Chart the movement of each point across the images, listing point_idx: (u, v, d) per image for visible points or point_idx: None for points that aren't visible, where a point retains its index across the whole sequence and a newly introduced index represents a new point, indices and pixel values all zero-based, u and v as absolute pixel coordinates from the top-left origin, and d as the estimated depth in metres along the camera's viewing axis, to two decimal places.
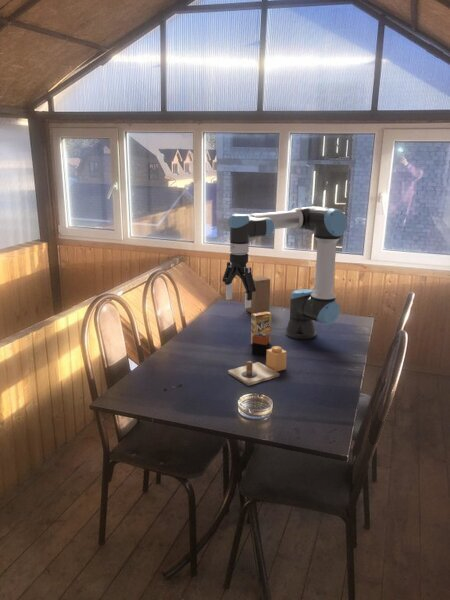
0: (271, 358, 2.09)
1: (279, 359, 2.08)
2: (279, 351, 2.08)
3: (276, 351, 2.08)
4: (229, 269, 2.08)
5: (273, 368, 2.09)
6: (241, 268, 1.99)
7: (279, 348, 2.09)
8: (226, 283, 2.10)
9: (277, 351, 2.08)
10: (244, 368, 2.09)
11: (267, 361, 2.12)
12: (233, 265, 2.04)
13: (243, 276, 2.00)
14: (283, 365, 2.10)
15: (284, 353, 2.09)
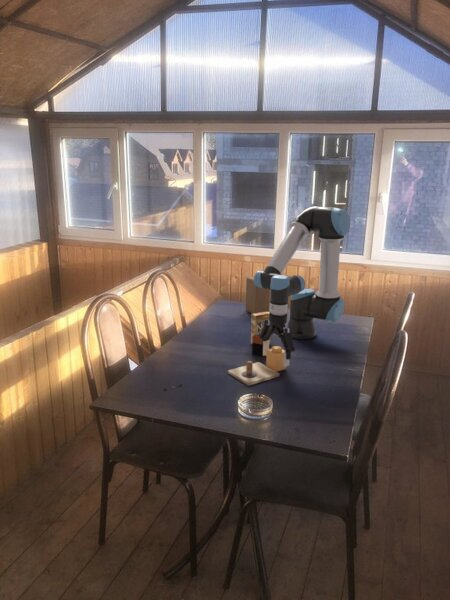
0: (271, 358, 2.09)
1: (279, 359, 2.08)
2: (279, 351, 2.08)
3: (276, 351, 2.08)
4: (267, 326, 2.12)
5: (273, 368, 2.09)
6: (280, 328, 2.04)
7: (279, 348, 2.09)
8: (263, 340, 2.14)
9: (277, 351, 2.08)
10: (244, 368, 2.09)
11: (267, 361, 2.12)
12: (272, 324, 2.08)
13: (282, 335, 2.04)
14: None
15: None
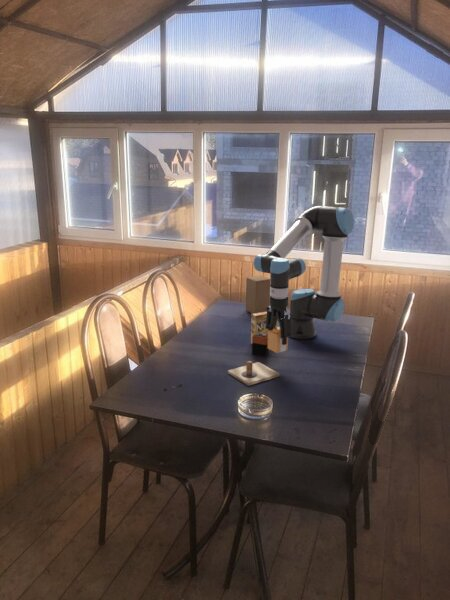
0: (272, 339, 2.07)
1: None
2: (280, 332, 2.06)
3: (277, 332, 2.06)
4: (270, 314, 2.10)
5: (275, 349, 2.07)
6: (281, 312, 2.02)
7: None
8: None
9: (278, 332, 2.06)
10: (244, 368, 2.09)
11: (268, 342, 2.10)
12: (272, 307, 2.06)
13: (281, 321, 2.04)
14: None
15: None
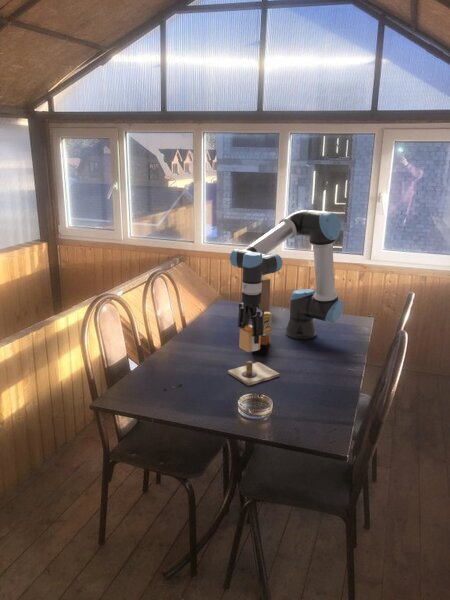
0: (244, 337, 1.96)
1: None
2: None
3: (249, 330, 1.95)
4: (242, 311, 1.99)
5: (246, 348, 1.96)
6: (254, 309, 1.91)
7: None
8: None
9: (250, 330, 1.95)
10: (244, 368, 2.09)
11: (240, 341, 1.99)
12: (245, 303, 1.96)
13: (254, 318, 1.93)
14: None
15: None
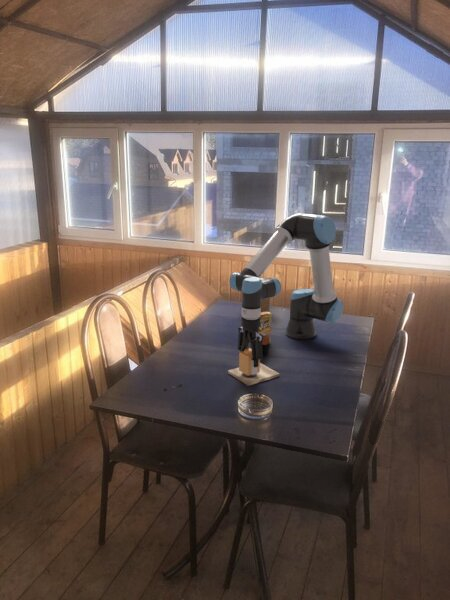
0: (244, 361, 1.99)
1: None
2: None
3: (249, 353, 1.98)
4: (242, 334, 2.02)
5: (246, 371, 1.99)
6: (253, 333, 1.94)
7: None
8: None
9: (250, 353, 1.98)
10: None
11: (240, 364, 2.02)
12: (244, 328, 1.99)
13: (253, 342, 1.96)
14: None
15: None
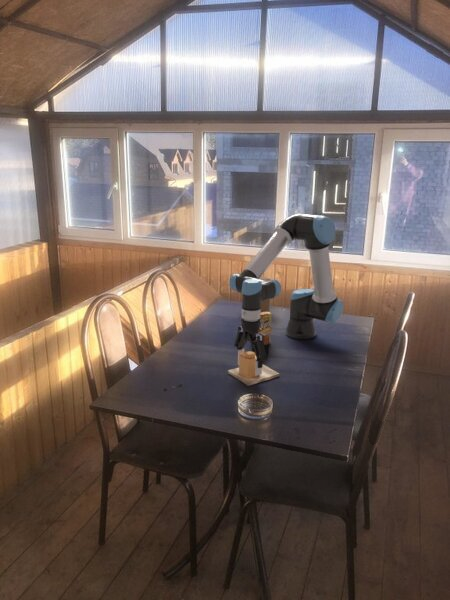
0: (244, 364, 2.00)
1: (252, 365, 1.99)
2: (252, 357, 1.99)
3: (249, 357, 1.99)
4: (240, 333, 2.03)
5: (246, 374, 2.00)
6: (253, 334, 1.95)
7: (252, 353, 2.00)
8: (238, 348, 2.05)
9: (250, 357, 1.99)
10: None
11: (240, 367, 2.02)
12: (244, 330, 1.99)
13: (254, 343, 1.95)
14: None
15: None
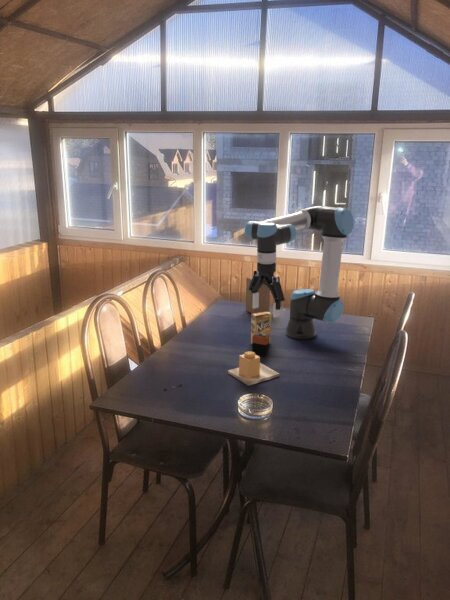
0: (244, 364, 2.00)
1: (252, 365, 1.99)
2: (252, 357, 1.99)
3: (249, 357, 1.99)
4: (256, 278, 2.05)
5: (246, 374, 2.00)
6: (269, 277, 1.97)
7: (252, 353, 2.00)
8: (253, 292, 2.07)
9: (250, 357, 1.99)
10: None
11: (240, 367, 2.02)
12: (260, 274, 2.01)
13: (271, 285, 1.97)
14: (256, 371, 2.01)
15: (257, 359, 2.00)
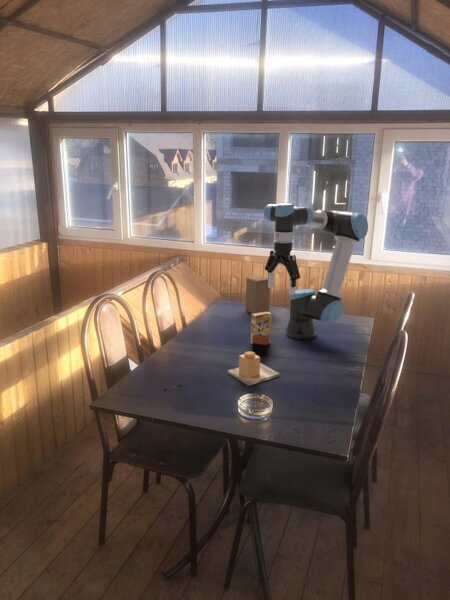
0: (244, 364, 2.00)
1: (252, 365, 1.99)
2: (252, 357, 1.99)
3: (249, 357, 1.99)
4: (272, 257, 2.13)
5: (246, 374, 2.00)
6: (285, 256, 2.05)
7: (252, 353, 2.00)
8: (269, 271, 2.15)
9: (250, 357, 1.99)
10: None
11: (240, 367, 2.02)
12: (277, 253, 2.09)
13: (287, 264, 2.05)
14: (256, 371, 2.01)
15: (257, 359, 2.00)
